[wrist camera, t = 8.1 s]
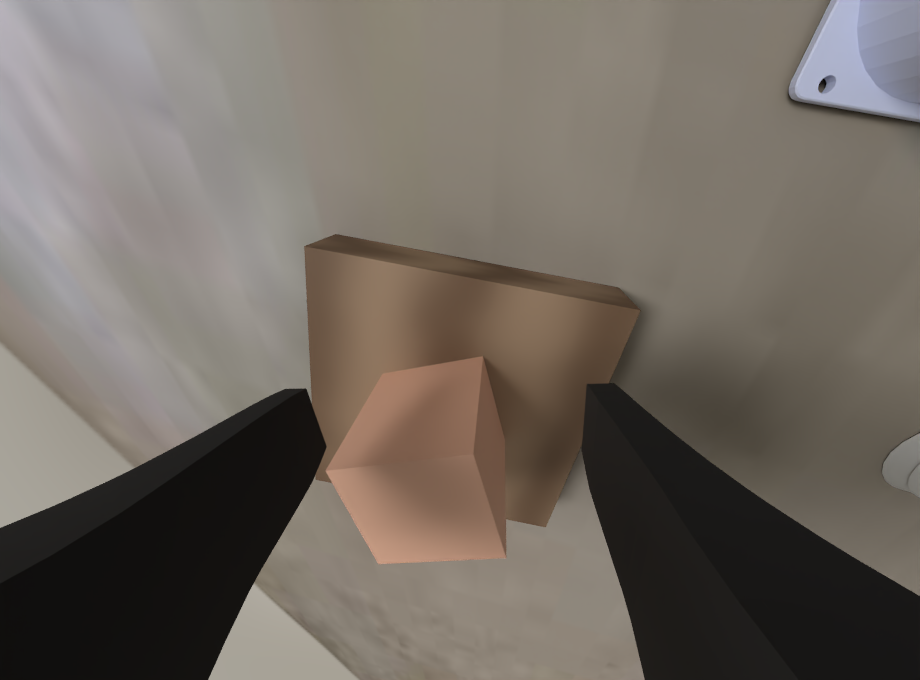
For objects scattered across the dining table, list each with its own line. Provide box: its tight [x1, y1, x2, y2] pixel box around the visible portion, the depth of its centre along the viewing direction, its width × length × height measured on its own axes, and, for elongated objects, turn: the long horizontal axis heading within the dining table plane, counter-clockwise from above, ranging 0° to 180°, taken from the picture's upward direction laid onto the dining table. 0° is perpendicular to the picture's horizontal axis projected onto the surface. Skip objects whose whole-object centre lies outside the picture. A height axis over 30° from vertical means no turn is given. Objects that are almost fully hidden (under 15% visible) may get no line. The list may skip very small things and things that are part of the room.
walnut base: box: [304, 234, 641, 527], centre depth 18 cm, size 14×14×3 cm
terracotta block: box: [326, 356, 506, 564], centre depth 14 cm, size 5×5×6 cm
